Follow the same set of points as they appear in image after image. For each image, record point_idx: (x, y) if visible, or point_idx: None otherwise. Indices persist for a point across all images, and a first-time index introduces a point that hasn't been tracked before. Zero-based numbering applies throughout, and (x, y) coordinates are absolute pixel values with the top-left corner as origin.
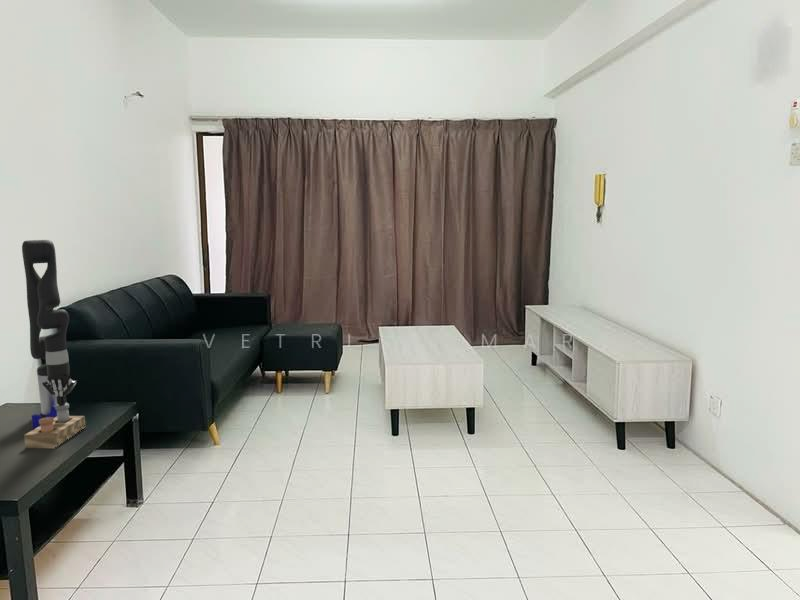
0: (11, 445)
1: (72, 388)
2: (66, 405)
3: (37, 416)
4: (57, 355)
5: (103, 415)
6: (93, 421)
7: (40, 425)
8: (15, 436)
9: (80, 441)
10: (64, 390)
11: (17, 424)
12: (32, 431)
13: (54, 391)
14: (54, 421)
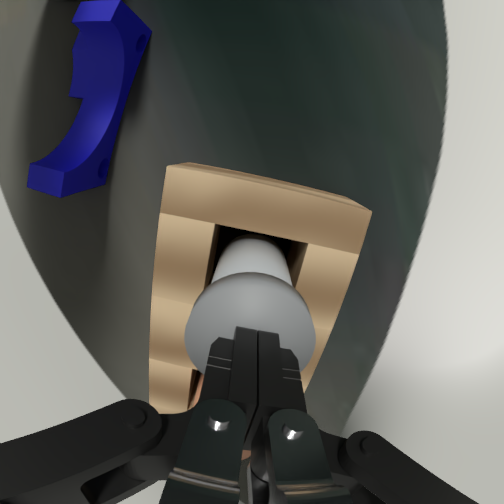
0: (96, 346)
1: (428, 492)
2: (299, 359)
3: (56, 194)
4: None
5: (372, 18)
6: (355, 94)
7: (95, 180)
8: (52, 254)
9: (355, 359)
10: (303, 477)
11: (4, 111)
12: (159, 398)
13: (152, 476)
14: (197, 286)
